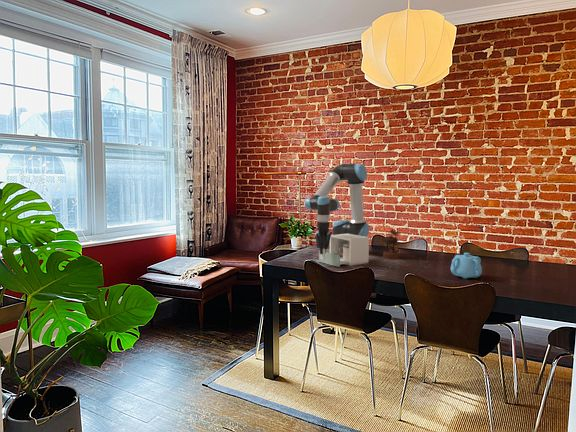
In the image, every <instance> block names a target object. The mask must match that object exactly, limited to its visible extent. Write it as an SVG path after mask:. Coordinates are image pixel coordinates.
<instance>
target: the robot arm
mask: <svg viewBox="0 0 576 432" xmlns="http://www.w3.org/2000/svg"><path fill="white" fill-rule="evenodd" d="M367 170H368V169H367V167H366V166H365V165H364V164H363V163H341V164H339V165H337V166H335V167H333V168H332V169H331V170H330V171H329V173H328V174H327V178H326V179H325V180H324V181H323V182H322V184H321V186H320V187H318V189H317V190H316V192H315V193H314V195H313V196H312V197H307V198H306V199H305V200H304V206H305V209H306V210H309V211H310V210H311V211H317V214H316V215H317V217H316V219H317V220H316V221H317V223H316V224H317V225H316V227H317V231H316V232H314V233H313V235H314V237H315V242H316V248H317V249H319V251H320V254H321V255H320V259H325V254H326V252H327V250H328V248H330V237H331V235H338V234H353V235H359V236H365V237H369V233H370V225H369V223H367V220H366V219H365V217H364V203H363V202H364V197H363V194H364V193H363V185H364V184H365V181H366V180H367V178H368V171H367ZM342 181H346V182H347V185H348V186H349V195H350V199H349V200H350V218H351V219H350V220H349V219H345V220H344V219H343V220H335V221H333V223H332V231H330V229H329V228H330V215H331V213H330V212H335V211H337V210H339V208H340V205H341V203H340V202H339V201H340V200H338V199H336V198H330V196H328V195H330V193H331V192H332V191H333V189H334V188H335V186H336V185H337V184H340V182H342Z"/></svg>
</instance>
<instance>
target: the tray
mask: <svg viewBox="0 0 576 432" xmlns="http://www.w3.org/2000/svg"><path fill="white" fill-rule="evenodd" d="M320 255H321V254H320V250H318V262H319V263H323V264H327V265H330V266H334V267H338V268H339V267H341V265H345V264H347V263H349V260H345V259H343V255H337V254H333V253H330V251H329V252H328V251H326V254H325V259H320Z"/></svg>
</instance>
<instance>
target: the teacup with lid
mask: <svg viewBox="0 0 576 432" xmlns="http://www.w3.org/2000/svg"><path fill="white" fill-rule="evenodd" d="M349 242H350V241H349ZM349 242H348V243H346V244H344V245H343V247H341V248H343V253H342V252H341V248H340V249H339V251H340V253H341V254H342V255H343V259H345V260H349Z"/></svg>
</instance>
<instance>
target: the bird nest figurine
mask: <svg viewBox="0 0 576 432" xmlns="http://www.w3.org/2000/svg"><path fill="white" fill-rule="evenodd" d="M390 234H391V235H388V236H385V237H384V238H383V242H384V244H386V245H384V244H381V246H382V247H383V248H385V249H386V250H385V251H384V252H383V254H382V255H383V256H382V258H383V259H385V258H386V259H385V260H398V259H400V253H399V251H400V250H399V249H398V246H399V243H398V242H399V241H398V240H399V239H398V237H399V235H401V233H399V232H398V231H396V230H394V229H393V228H391V229H390ZM393 235H394V236H393ZM389 250H391V251H389Z"/></svg>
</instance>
